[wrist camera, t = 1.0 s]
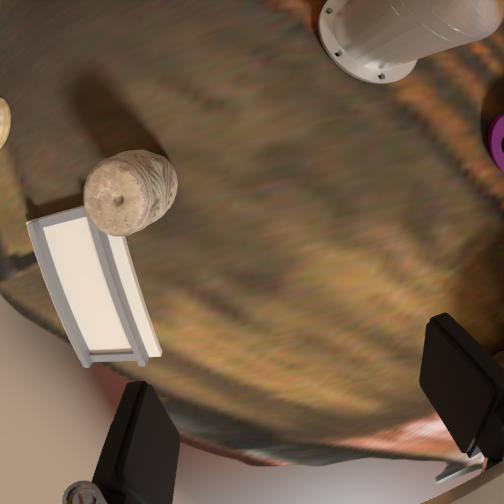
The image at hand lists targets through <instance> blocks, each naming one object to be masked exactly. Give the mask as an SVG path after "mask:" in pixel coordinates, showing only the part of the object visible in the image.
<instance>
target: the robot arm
mask: <svg viewBox="0 0 504 504" xmlns="http://www.w3.org/2000/svg"><path fill="white" fill-rule="evenodd" d="M326 12H328V13H329V14H328V13H326ZM503 16H504V0H328V1H327V2H326V3H325V5H324V6H323V8H322V10H321V12H320V15H319V19H318V32H319V37H320V40H321V42H322V45H323V47H324V49H325V50H326V52H327V54H328V55H329V57H330V58H331V59H332V60H333V61H334V62H335V64H336V65H338V66H339V67H340V68H341V69H342V70H343V71H345V72H346V73H348V74H349V75H351V76H353V77H355V78H357V79H359V80H362V81H365V82H369V83H374V84H385V83H391V82H395V81H398V80H400V79H402V78H404V77H405V76H406V75H408V74H409V73H410V72H411V71H412V69H413V68H414V66H415V64H416V62H417V59H419V58H422V57H425V56H428V55H431V54H434V53H437V52H440V51H443V50H447V49H450V48H453V47H456V46H460V45H463V44H467V43H470V42H474V41H477V40H481V39H483V38H486V37H488V36H489V35H491V34H492V33H493V32H494V31H495V30H496V29H497V28H498V27H499V25H500V23H501V21H502V19H503ZM335 53H337V54H338V57H337V56H336V55H335ZM378 76H380V79H379V77H378ZM419 382H420V386H421V388H422V390H423V391H424V393H425V395H426V396H427V398H428V399H429V401H430V402H431V404H432V405H433V407H434V409H435V410H436V412H437V413H438V415H439V416H440V418H441V420H442V421H443V423H444V424H445V426H446V428H447V429H448V431H449V433H450V434H451V436H452V437H453V439H454V441H455V442H456V444H457V446H458V447H459V449H460V451H461V452H462V453H467V455H468V457H469V458H471V457H473V456H475V455H477V454H478V453H480V452H482V454H483V455H484V457H485V458H484V463H483V467H482V471H481V474H480V475H478V476H476V477H474V478H472V479H471V480H469V481H467V482H465V483H463V484H461V485H459V486H457V487H455V488H453V489H451V490H450V491H448V492H445V493H443V494H441V495H439V496H437V497H435V498H433V499H431V500H428V501H426V502H424V503H421V504H504V369H503V368H502V367H501V366H500V365H499V364H498V363H497V362H496V361H495V360H494V359H493V358H492V356H491V355H490V354H489V353H488V352H487V351H486V350H485V349H484V348H483V347H482V346H481V345H480V344H479V343H478V342H477V341H476V340H475V339H474V338H473V337H472V336H471V335H470V334H469V333H468V332H467V331H466V330H465V329H464V328H463V327H462V326H460V325H459V324H458V323H457V322H456V321H455V320H454V319H453V318H452V317H451V316H450V315H449V314H448V313H442V314H439V315H437V316H434V317H432V318H431V319H430V321H429V323H427V325H426V332H425V341H424V350H423V358H422V365H421V372H420V378H419ZM179 448H180V435H179V432H178V430H177V429H176V427H175V425H174V424H173V422H172V420H171V419H170V417H169V415H168V414H167V412H166V410H165V408H164V407H163V405H162V403H161V401H160V399H159V398H158V396H157V394H156V392H155V390H154V388H153V387H152V385H148V384H147V383H146V382H145V381H136V382H129V383H127V385H126V388H125V390H124V393H123V395H122V398H121V401H120V404H119V406H118V409H117V412H116V414H115V417H114V420H113V422H112V424H111V426H110V429H109V432H108V434H107V437H106V440H105V443H104V446H103V449H102V452H101V455H100V458H99V461H98V464H97V467H96V470H95V473H94V476H93V479H92V482H89V481H78V482H75V483H73V484H72V485H70V486H69V487H68V488H67V489H66V491H65V492H64V495H63V500H62V503H63V504H172V501H173V493H174V485H175V478H176V469H177V463H178V455H179Z"/></svg>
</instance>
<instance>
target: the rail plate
mask: <svg viewBox="0 0 504 504" xmlns="http://www.w3.org/2000/svg"><path fill="white" fill-rule="evenodd" d="M26 224H27V228H28V231H29V235H30V238H31V241H32V245H33V248H34V251H35V254H36V257H37V260H38V263H39V266H40V269H41V272H42V274H43V277H44V280H45V283H46V285H47V288H48V290H49V293H50V296H51V298H52V301H53V303H54V305H55V308H56V310H57V313H58V315H59V317H60V319H61V322H62V324H63V326H64V328H65V331H66V333H67V335H68V337H69V339H70V341H71V343H72V345H73V347H74V349H75V351H76V353H77V355H78V357H79V359H80V361H81V363H82V365H83V366H84V368H90V366H91V364H92V362H109V361H135V360H137V362H138V365H139V366H146V365H147V362H148V359H149V357H158V356H161V355H162V350H161V347H160V344H159V342H158V339H157V336H156V334H155V331H154V328H153V325H152V322H151V319H150V317H149V314H148V311H147V308H146V305H145V302H144V299H143V296H142V292H141V289H140V286H139V283H138V280H137V276H136V273H135V270H134V266H133V263H132V260H131V256H130V252H129V249H128V245H127V242H126V238H125V236H120V237H117V236H111V235H108V234H106V233H104V232H102V231H100V230H99V229H98V228H97V227H96V226H95V225H94V224H93V223H92V222H91V220H90V218H89V217H88V215H87V212H86V210H85V206H80V207H76V208H72V209H68V210H65V211H61V212H58V213H54V214H50V215H47V216H44V217H40V218H37V219H33V220H30V221H28V222H26Z"/></svg>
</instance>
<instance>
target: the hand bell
mask: <svg viewBox="0 0 504 504" xmlns="http://www.w3.org/2000/svg"><path fill="white" fill-rule="evenodd" d="M10 126H11V112H10V108H9V105H8V103H7V102H6V101H5V99H3V98H2V97H0V149H1V148H2V146H3V145H4V143H5V142H6V140H7V137H8V135H9V131H10Z"/></svg>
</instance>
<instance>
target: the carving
mask: <svg viewBox="0 0 504 504" xmlns="http://www.w3.org/2000/svg"><path fill="white" fill-rule="evenodd" d="M177 187H178V180H177V175H176V172H175V170H174V168H173V166H172V164H171V163H170V162H169V161H168V160H167V159H166V158H165V157H163V156H161V155H158V154H155V153H152V152H149V151H147V150H142V149H140V150H131V151H125V152H121V153H119V154H117V155H114V156H112V157H110V158H107V159H104V160H102V161H101V162H99V163H98V164H97V165H96V166H95V167H94V168H93V169H92V170H91V172H90V173H89V175H88V177H87V180H86V182H85V186H84V206H85V210H86V212H87V215H88V217H89V218H90V220H91V222H92V223H93V224H94V225H95V226H96V227H97V228H98V229H99V230H100V231H102V232H104V233H106V234H108V235H111V236H117V237H120V236H126V235H130V234H132V233H133V232H137V231H140V230H142V229H144V228H145V227H146V226H148V225H149V224H151V223H153V222H154V221H156V220H158V219H159V218H161V217H162V216H163V215H164V214H165V212H166V211H167V210H168V209H169V208H170V206H171V205H172V203H173V202H174V199H175V196H176V192H177Z"/></svg>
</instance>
